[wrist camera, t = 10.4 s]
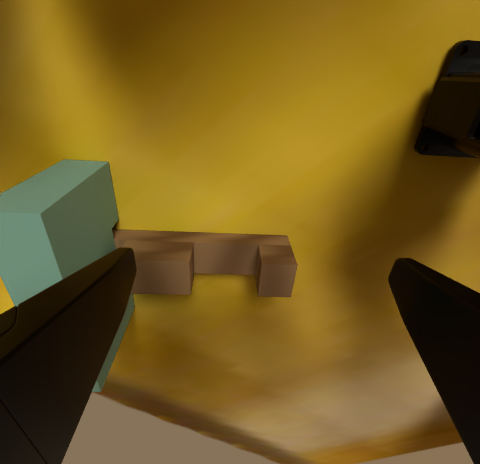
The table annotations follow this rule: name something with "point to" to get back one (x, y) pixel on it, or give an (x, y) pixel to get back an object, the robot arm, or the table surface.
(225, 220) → the table surface
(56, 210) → the teal plate
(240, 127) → the table surface
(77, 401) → the robot arm
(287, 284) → the walnut rail
